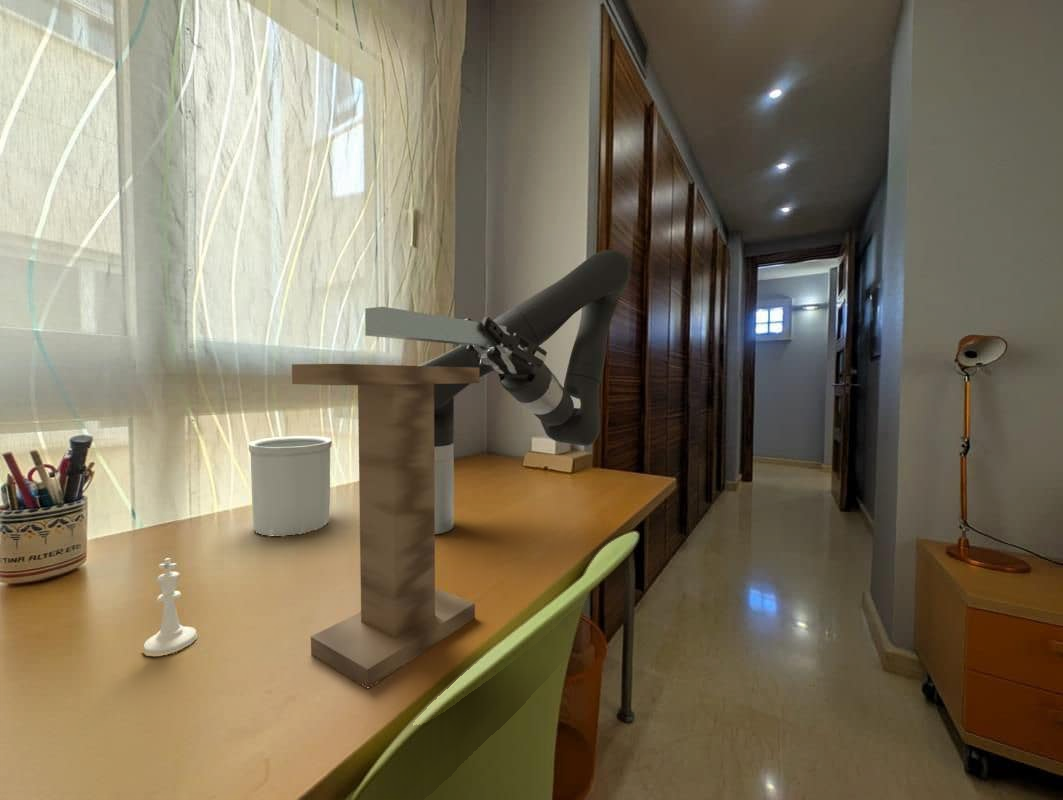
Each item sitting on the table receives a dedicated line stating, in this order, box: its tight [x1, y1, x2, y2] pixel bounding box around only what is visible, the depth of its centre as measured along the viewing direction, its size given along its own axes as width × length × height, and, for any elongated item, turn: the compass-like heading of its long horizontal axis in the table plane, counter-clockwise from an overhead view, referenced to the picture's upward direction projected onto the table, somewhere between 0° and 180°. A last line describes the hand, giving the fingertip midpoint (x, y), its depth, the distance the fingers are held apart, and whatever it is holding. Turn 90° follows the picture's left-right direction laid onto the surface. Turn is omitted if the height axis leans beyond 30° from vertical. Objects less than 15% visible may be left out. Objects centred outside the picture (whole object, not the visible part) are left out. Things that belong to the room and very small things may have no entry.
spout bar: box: [364, 306, 506, 347], centre depth 59 cm, size 22×3×3 cm, turn 146°
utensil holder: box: [248, 435, 333, 537], centre depth 93 cm, size 15×15×18 cm
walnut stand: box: [291, 363, 480, 688], centre depth 54 cm, size 20×10×32 cm, turn 146°
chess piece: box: [143, 557, 198, 655], centre depth 52 cm, size 5×5×10 cm
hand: (474, 323), depth 64 cm, fingers closed on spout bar, 3 cm apart
